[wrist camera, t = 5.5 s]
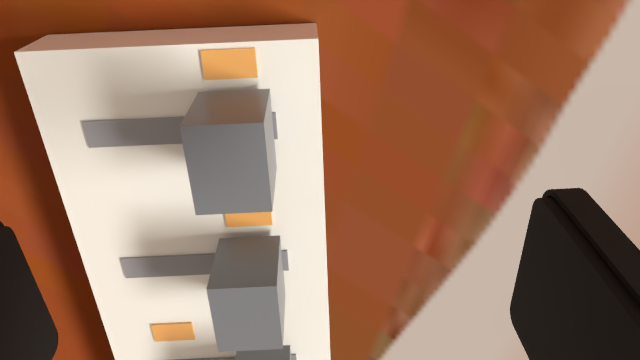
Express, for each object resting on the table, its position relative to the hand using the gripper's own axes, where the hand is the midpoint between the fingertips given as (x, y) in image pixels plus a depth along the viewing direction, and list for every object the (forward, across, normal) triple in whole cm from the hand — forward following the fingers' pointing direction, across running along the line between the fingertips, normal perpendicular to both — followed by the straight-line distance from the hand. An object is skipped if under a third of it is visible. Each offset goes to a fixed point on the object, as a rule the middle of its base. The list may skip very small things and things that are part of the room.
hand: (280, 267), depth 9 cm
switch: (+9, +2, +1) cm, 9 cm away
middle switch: (+9, +2, +7) cm, 12 cm away
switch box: (+12, +4, +8) cm, 14 cm away
